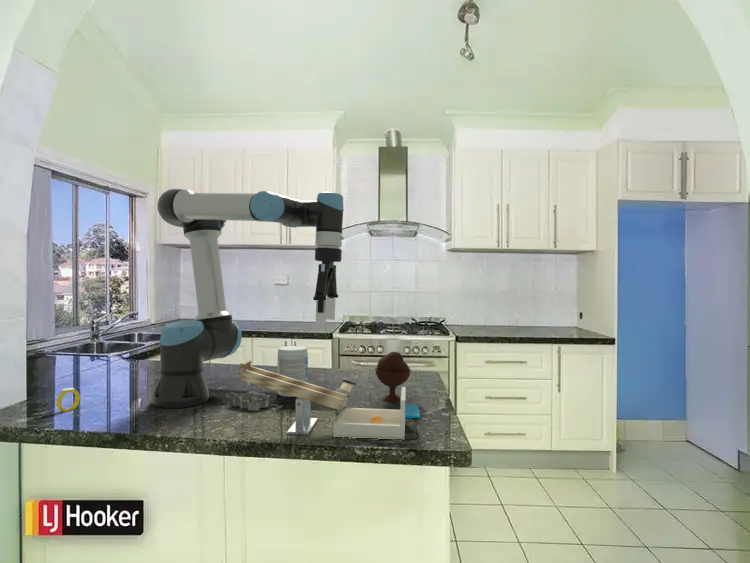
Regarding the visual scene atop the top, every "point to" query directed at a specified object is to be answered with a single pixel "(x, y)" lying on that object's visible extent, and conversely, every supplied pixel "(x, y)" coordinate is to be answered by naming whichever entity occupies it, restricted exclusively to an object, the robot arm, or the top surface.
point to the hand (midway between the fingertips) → (325, 322)
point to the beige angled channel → (297, 386)
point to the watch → (59, 399)
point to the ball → (376, 420)
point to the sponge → (412, 411)
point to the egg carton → (251, 400)
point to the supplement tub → (293, 363)
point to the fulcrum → (302, 418)
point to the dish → (359, 425)
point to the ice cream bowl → (392, 373)
